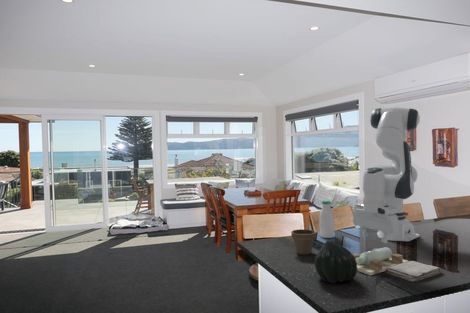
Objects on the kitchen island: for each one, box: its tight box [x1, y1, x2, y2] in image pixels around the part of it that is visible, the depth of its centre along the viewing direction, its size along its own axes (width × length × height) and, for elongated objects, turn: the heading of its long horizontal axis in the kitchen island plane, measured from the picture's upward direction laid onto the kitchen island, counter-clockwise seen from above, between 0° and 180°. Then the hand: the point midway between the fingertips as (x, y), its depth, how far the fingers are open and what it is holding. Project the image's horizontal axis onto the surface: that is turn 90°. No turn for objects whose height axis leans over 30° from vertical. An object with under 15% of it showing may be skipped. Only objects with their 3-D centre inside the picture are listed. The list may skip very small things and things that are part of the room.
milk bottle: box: [319, 199, 335, 239], centre depth 191 cm, size 8×8×20 cm
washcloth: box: [386, 260, 442, 282], centre depth 133 cm, size 12×18×3 cm, turn 121°
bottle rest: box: [352, 247, 409, 276], centre depth 143 cm, size 24×13×4 cm, turn 120°
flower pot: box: [290, 228, 317, 256], centre depth 163 cm, size 12×11×10 cm
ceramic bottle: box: [356, 246, 393, 265], centre depth 142 cm, size 18×5×5 cm, turn 120°
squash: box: [314, 240, 358, 284], centre depth 129 cm, size 14×15×15 cm
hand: (374, 239), depth 144 cm, fingers open, 8 cm apart
